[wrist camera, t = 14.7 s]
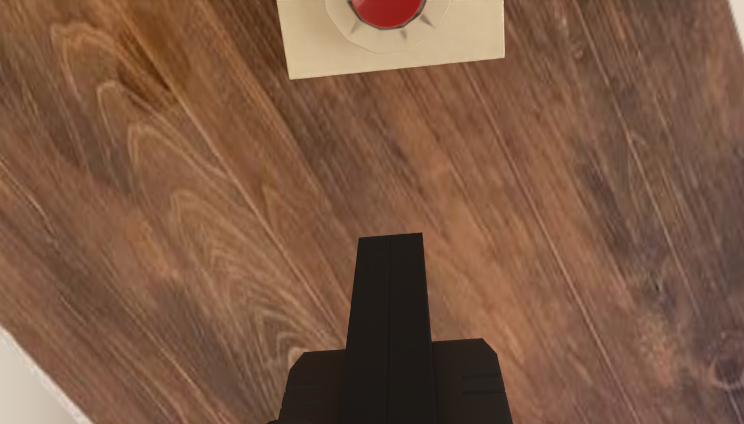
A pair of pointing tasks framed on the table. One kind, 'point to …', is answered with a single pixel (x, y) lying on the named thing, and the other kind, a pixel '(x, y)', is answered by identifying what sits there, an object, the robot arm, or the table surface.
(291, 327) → the table surface
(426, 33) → the button block
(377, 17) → the button
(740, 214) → the table surface
